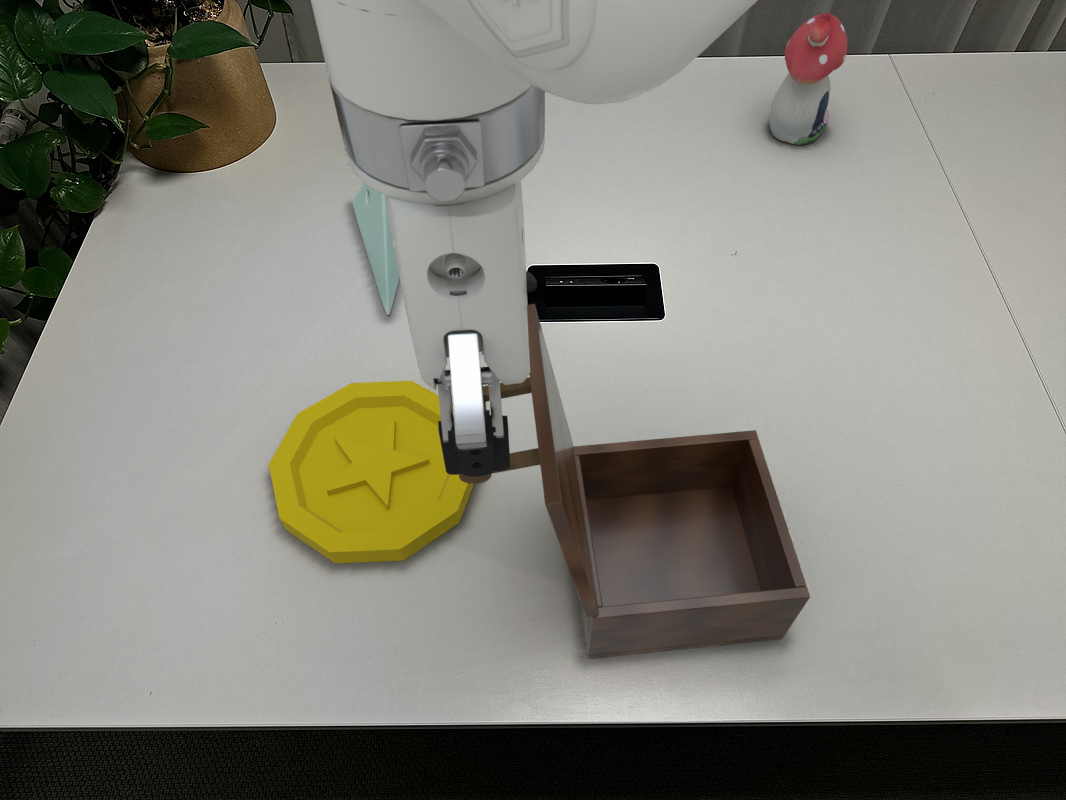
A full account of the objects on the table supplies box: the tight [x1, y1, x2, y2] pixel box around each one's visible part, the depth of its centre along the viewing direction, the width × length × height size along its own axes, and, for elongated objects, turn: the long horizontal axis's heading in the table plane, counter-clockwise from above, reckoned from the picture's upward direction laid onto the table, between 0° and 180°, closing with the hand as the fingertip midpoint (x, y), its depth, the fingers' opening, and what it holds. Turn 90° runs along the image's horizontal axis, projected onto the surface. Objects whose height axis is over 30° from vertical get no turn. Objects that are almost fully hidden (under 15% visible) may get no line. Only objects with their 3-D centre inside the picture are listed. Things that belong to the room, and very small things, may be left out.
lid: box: [459, 303, 599, 617], centre depth 49 cm, size 16×14×6 cm
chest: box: [573, 429, 811, 660], centre depth 59 cm, size 15×14×8 cm
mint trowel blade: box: [352, 182, 400, 316], centre depth 84 cm, size 8×6×18 cm
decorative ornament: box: [768, 12, 848, 146], centre depth 91 cm, size 9×6×15 cm
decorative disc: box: [268, 380, 475, 565], centre depth 67 cm, size 17×18×2 cm
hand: (473, 391), depth 42 cm, fingers open, 9 cm apart
